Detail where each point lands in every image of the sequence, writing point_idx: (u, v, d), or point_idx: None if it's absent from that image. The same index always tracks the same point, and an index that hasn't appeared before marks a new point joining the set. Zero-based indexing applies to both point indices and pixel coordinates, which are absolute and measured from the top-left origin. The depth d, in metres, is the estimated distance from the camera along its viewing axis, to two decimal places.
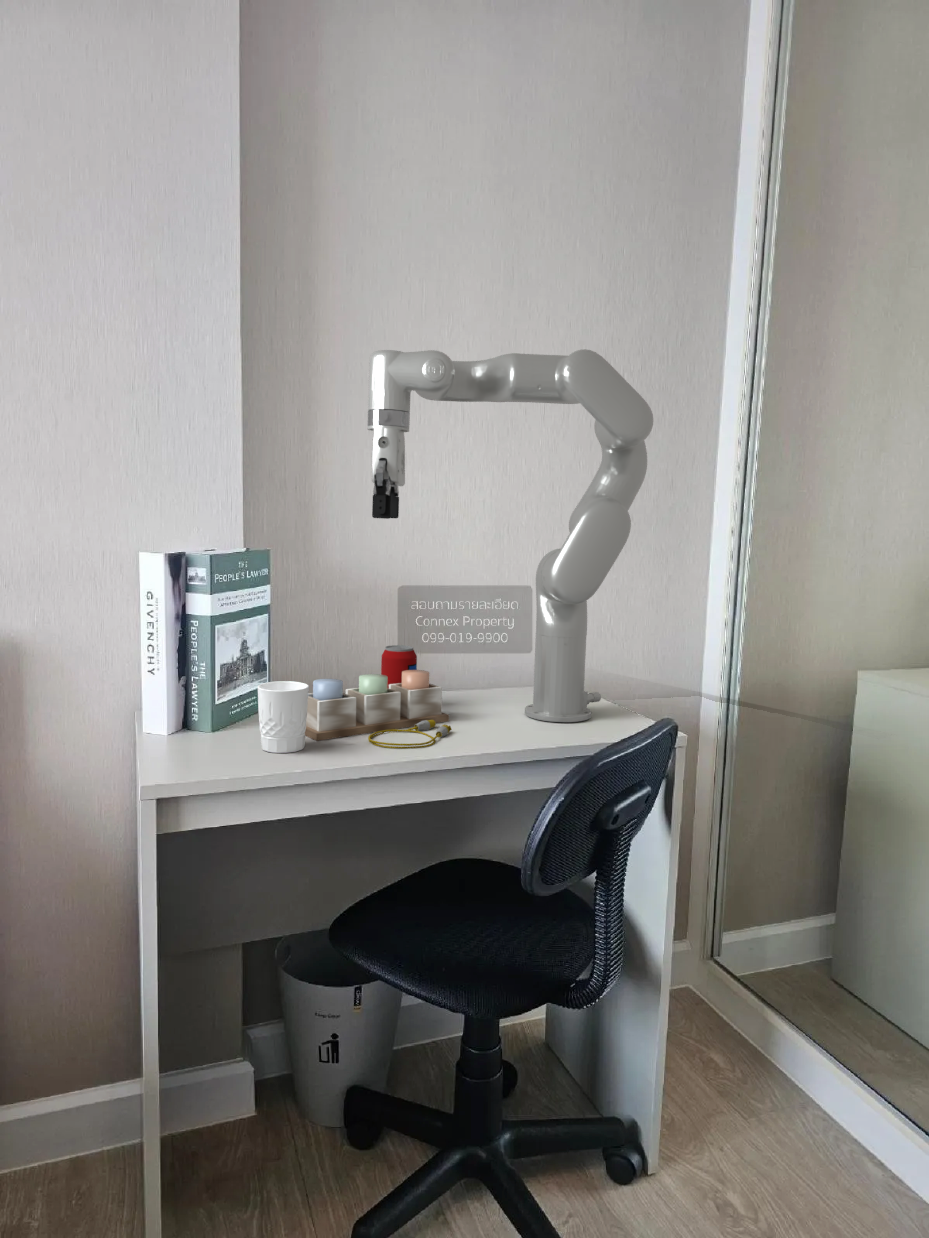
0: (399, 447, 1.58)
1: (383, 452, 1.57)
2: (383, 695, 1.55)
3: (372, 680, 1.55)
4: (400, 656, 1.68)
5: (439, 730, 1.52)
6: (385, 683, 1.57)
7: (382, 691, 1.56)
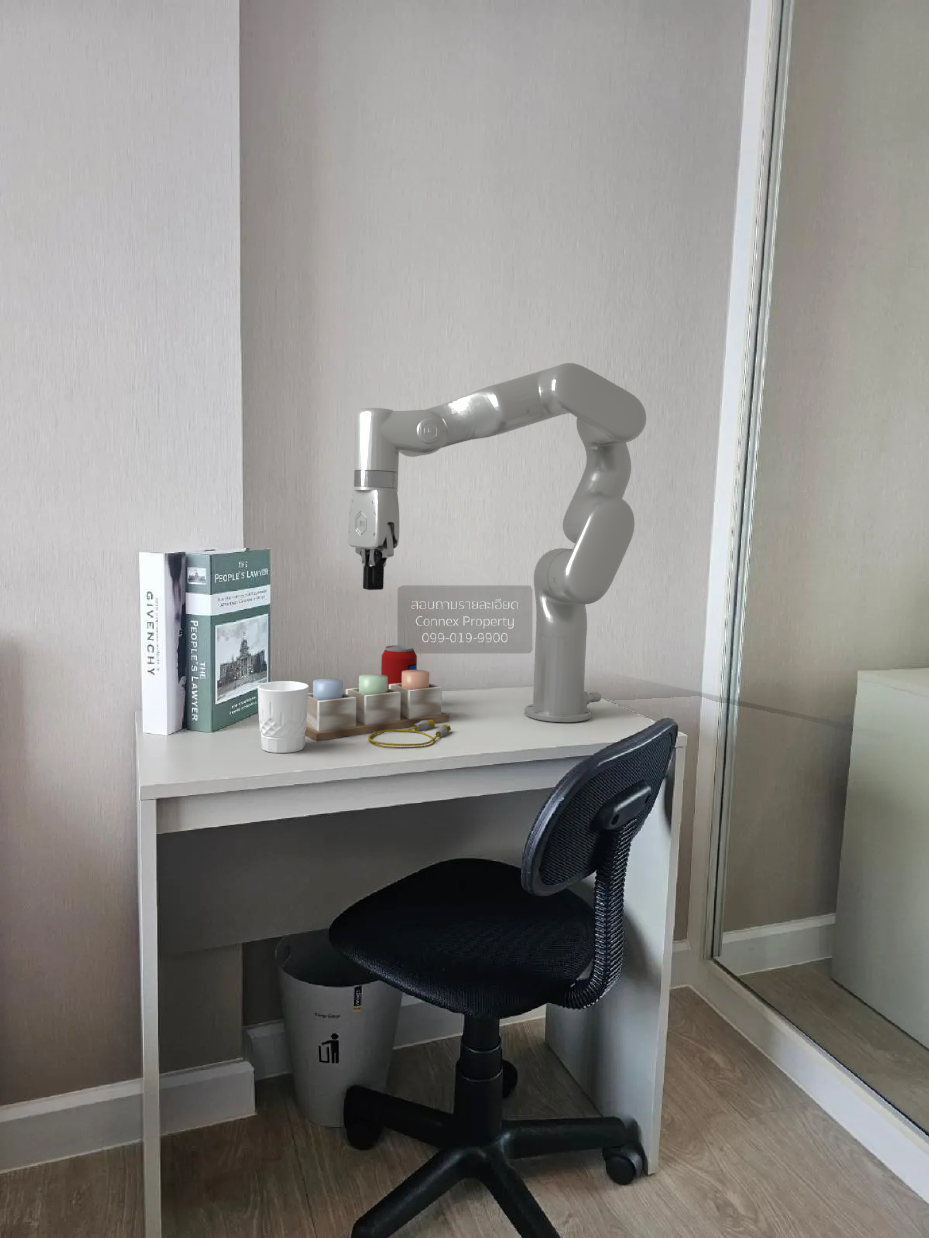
0: (351, 508, 1.55)
1: None
2: (383, 695, 1.55)
3: (372, 680, 1.55)
4: (400, 656, 1.68)
5: (439, 730, 1.52)
6: (385, 683, 1.57)
7: (382, 691, 1.56)
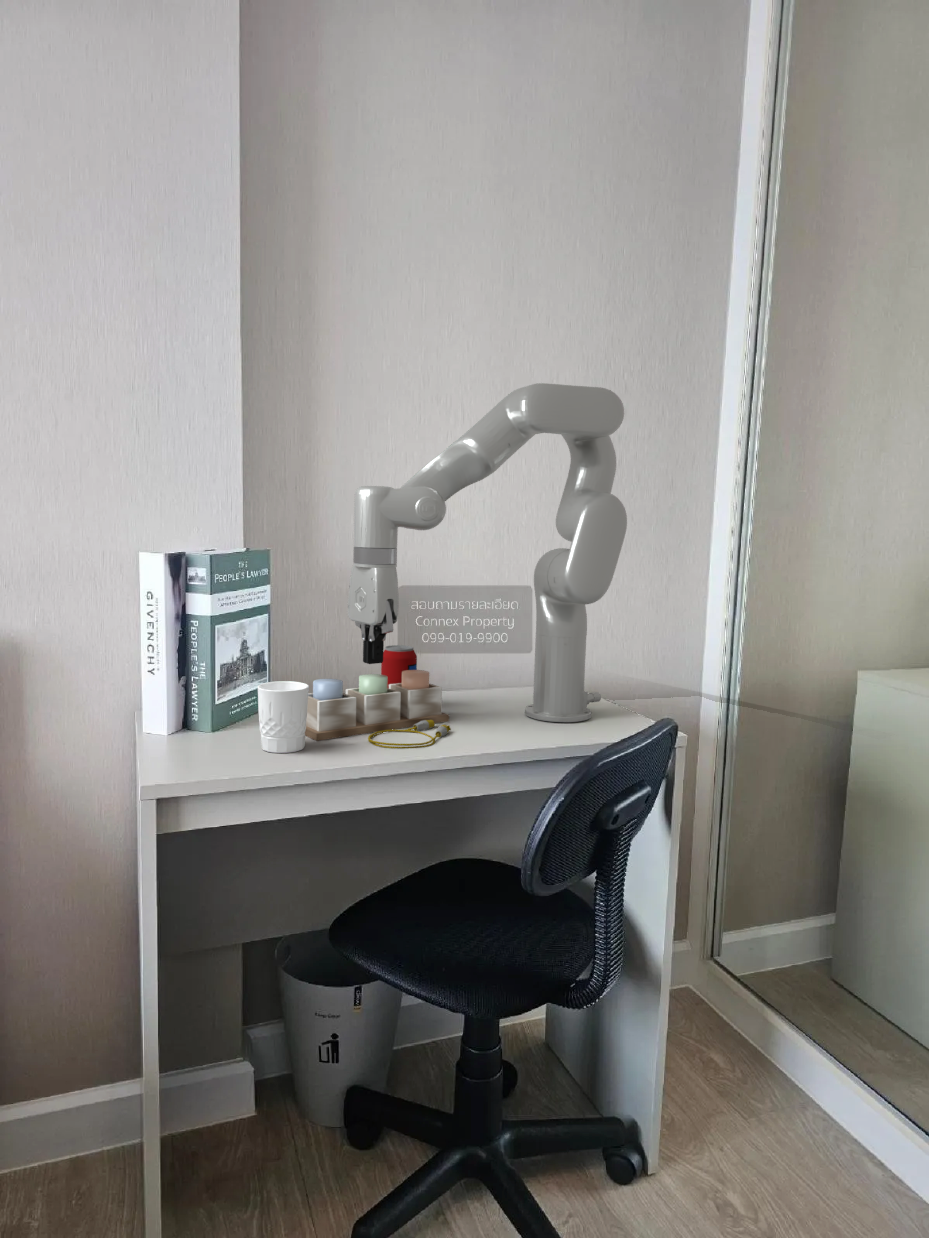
0: (351, 583, 1.57)
1: None
2: (383, 695, 1.55)
3: (372, 680, 1.55)
4: (400, 656, 1.68)
5: (438, 730, 1.52)
6: (385, 683, 1.57)
7: (382, 691, 1.56)
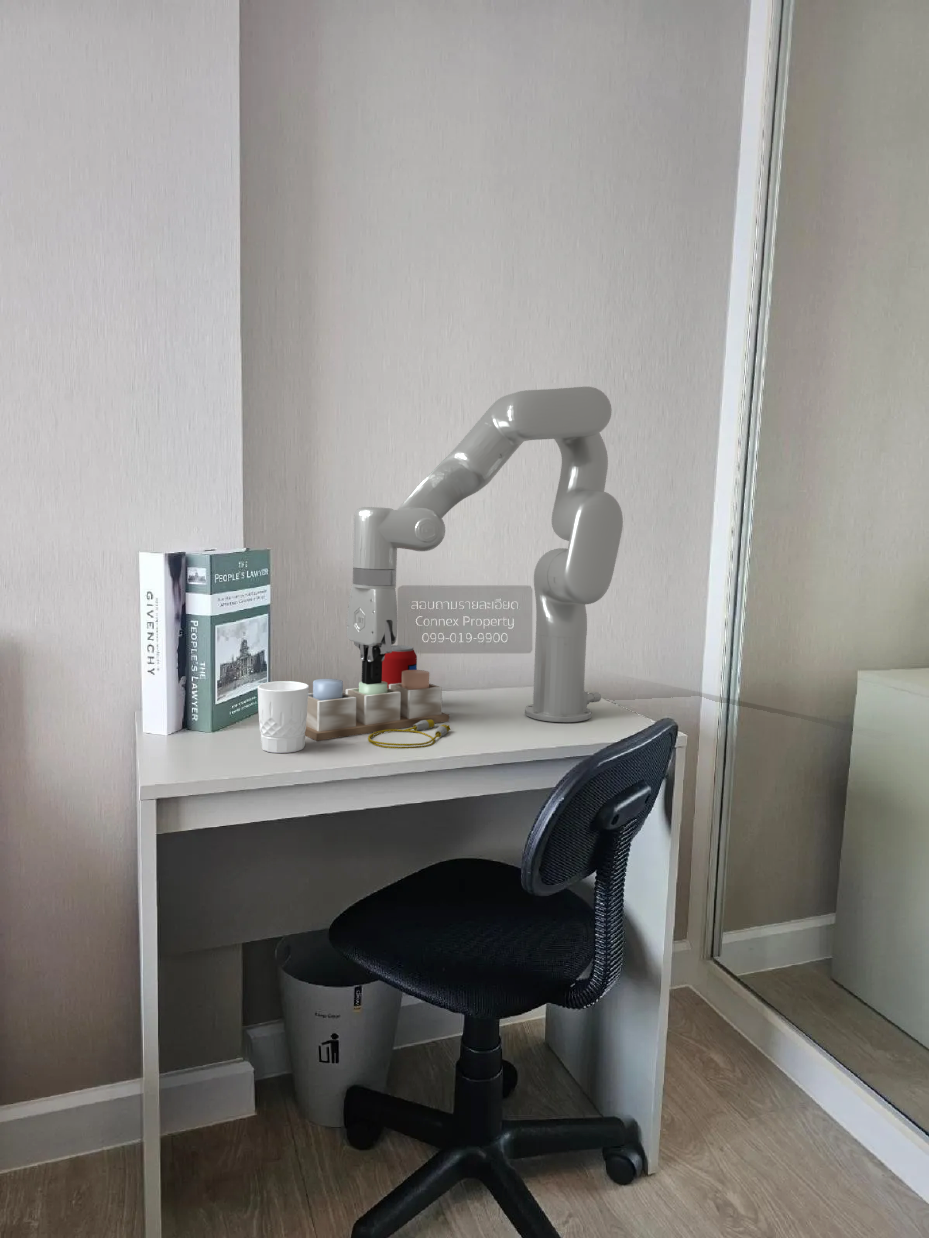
0: (350, 603, 1.57)
1: None
2: (383, 695, 1.55)
3: (372, 686, 1.55)
4: (400, 656, 1.68)
5: (438, 730, 1.52)
6: (385, 689, 1.57)
7: None
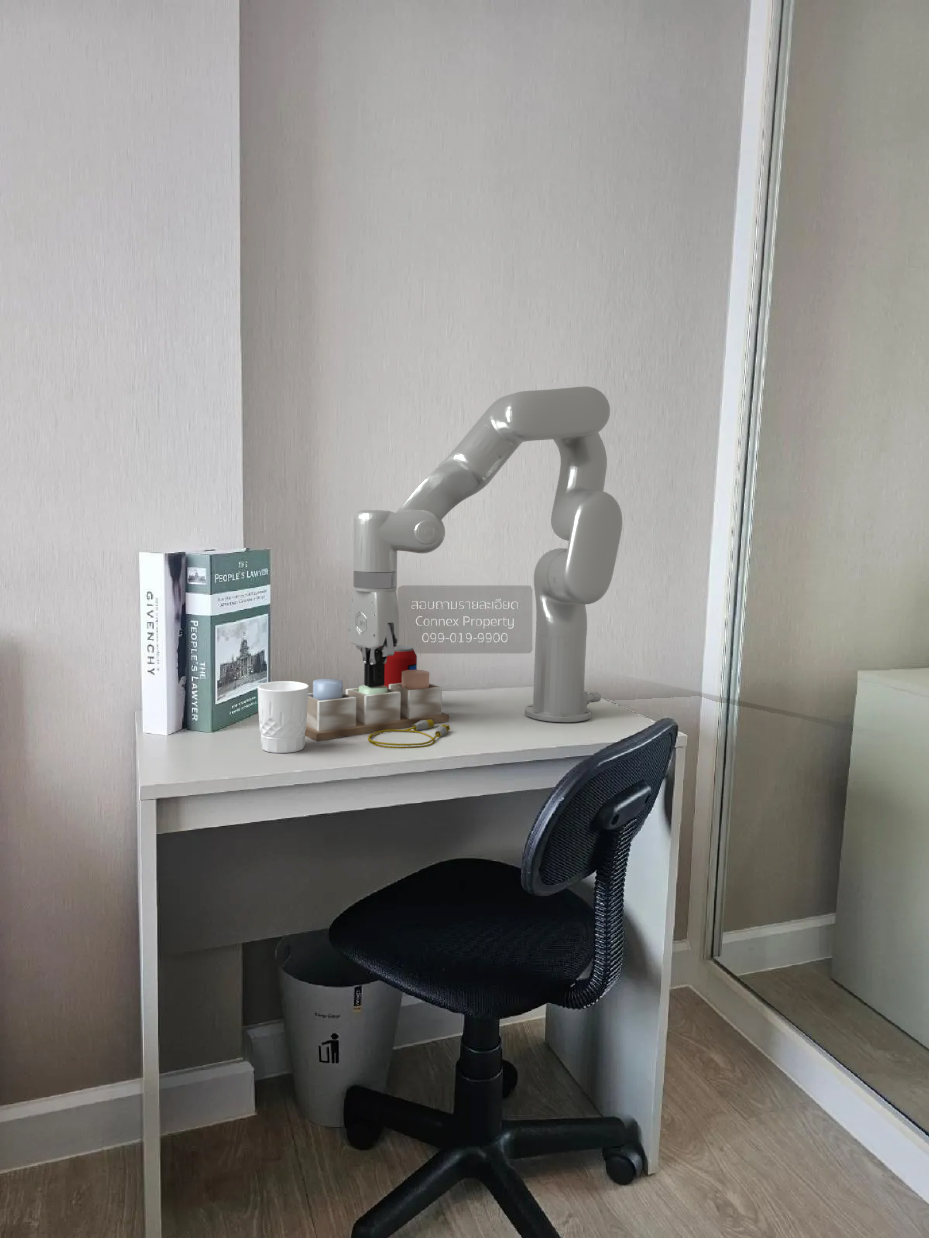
0: (351, 606, 1.58)
1: None
2: (383, 695, 1.55)
3: (372, 690, 1.56)
4: (400, 656, 1.68)
5: (438, 730, 1.52)
6: None
7: None
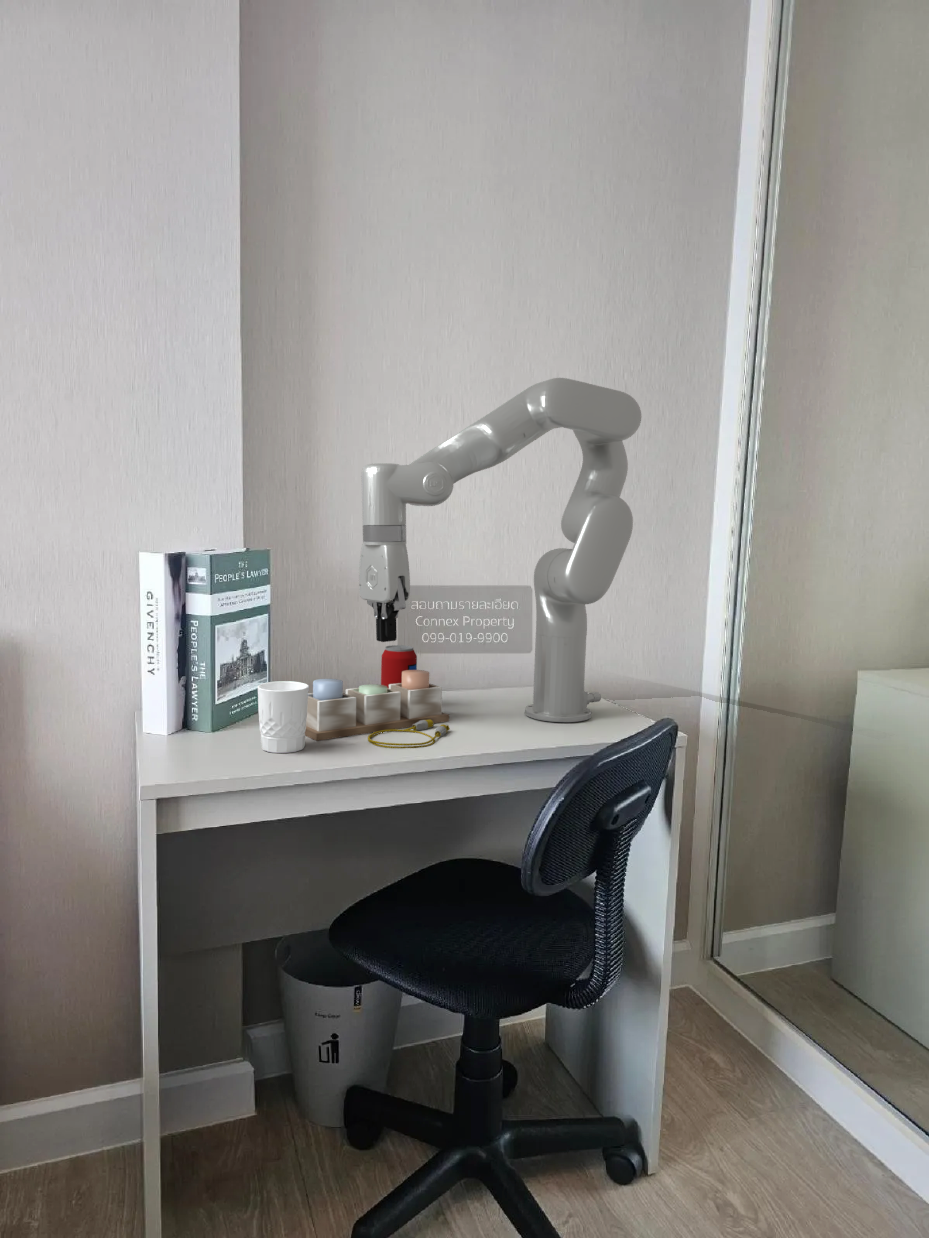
0: (361, 562, 1.57)
1: None
2: (383, 695, 1.55)
3: (372, 690, 1.56)
4: (400, 656, 1.68)
5: (438, 730, 1.52)
6: None
7: None
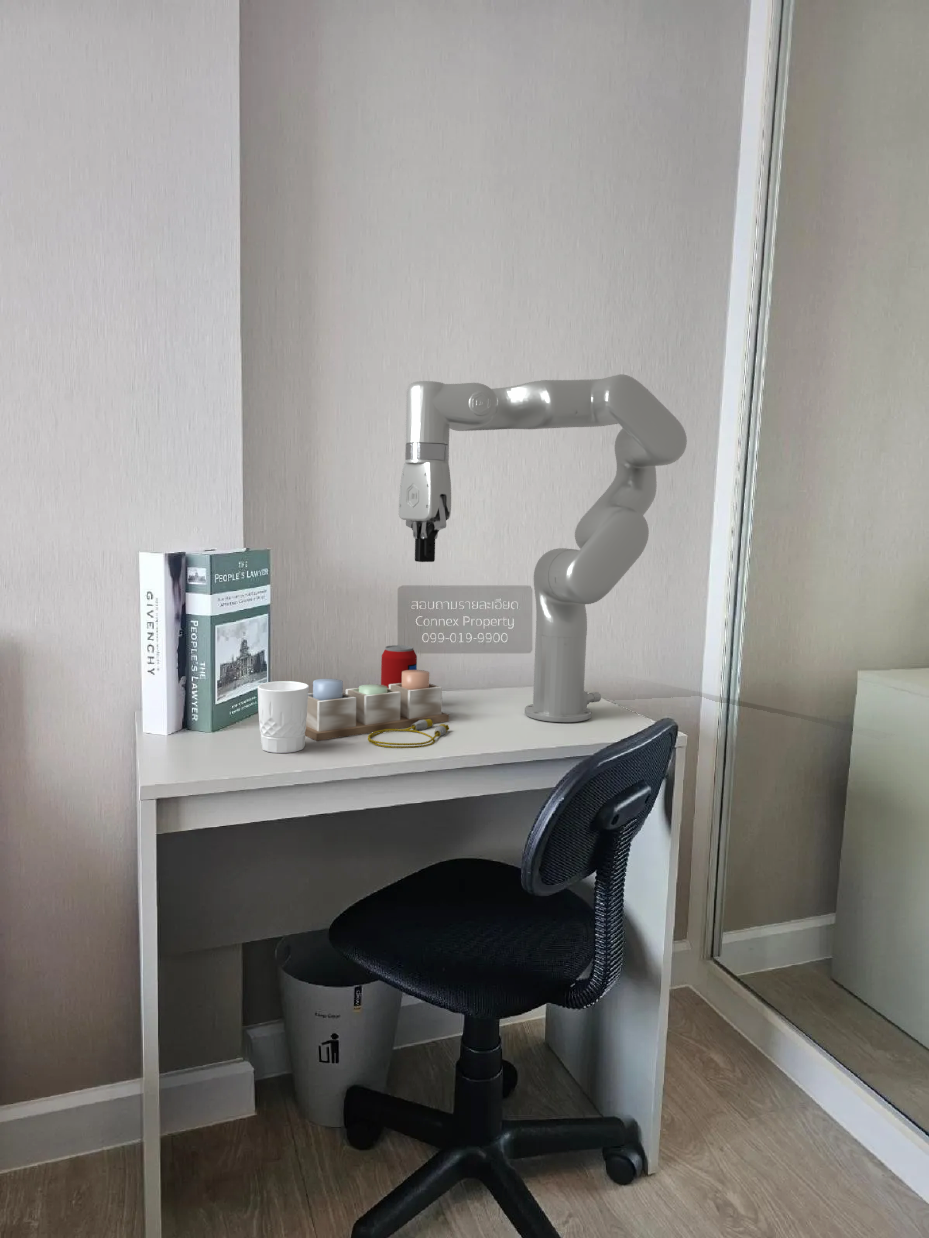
0: (402, 481, 1.57)
1: None
2: (383, 695, 1.55)
3: (372, 690, 1.56)
4: (400, 656, 1.68)
5: (438, 729, 1.52)
6: None
7: None
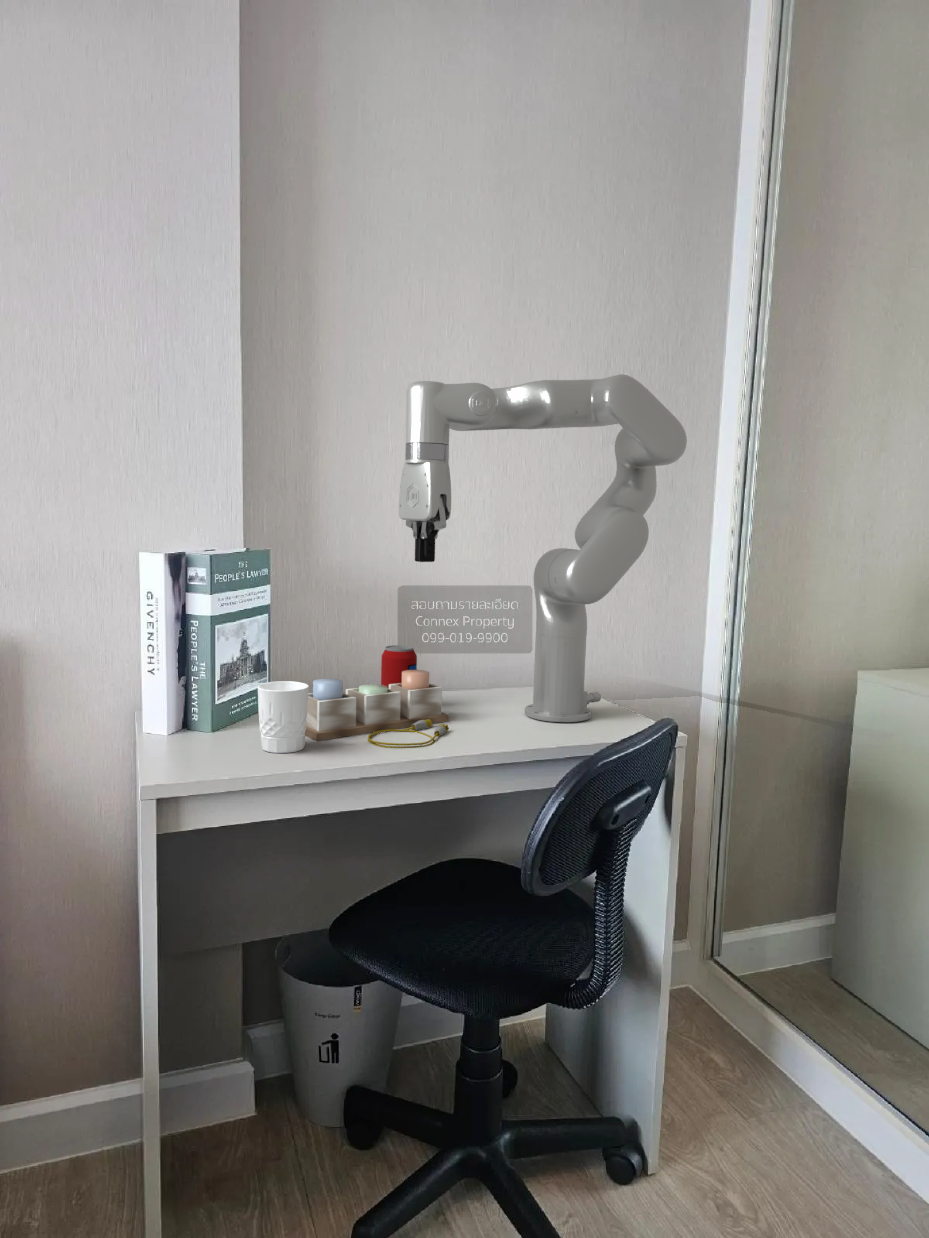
0: (402, 481, 1.57)
1: None
2: (383, 695, 1.55)
3: (372, 690, 1.56)
4: (400, 656, 1.68)
5: (437, 729, 1.52)
6: None
7: None
